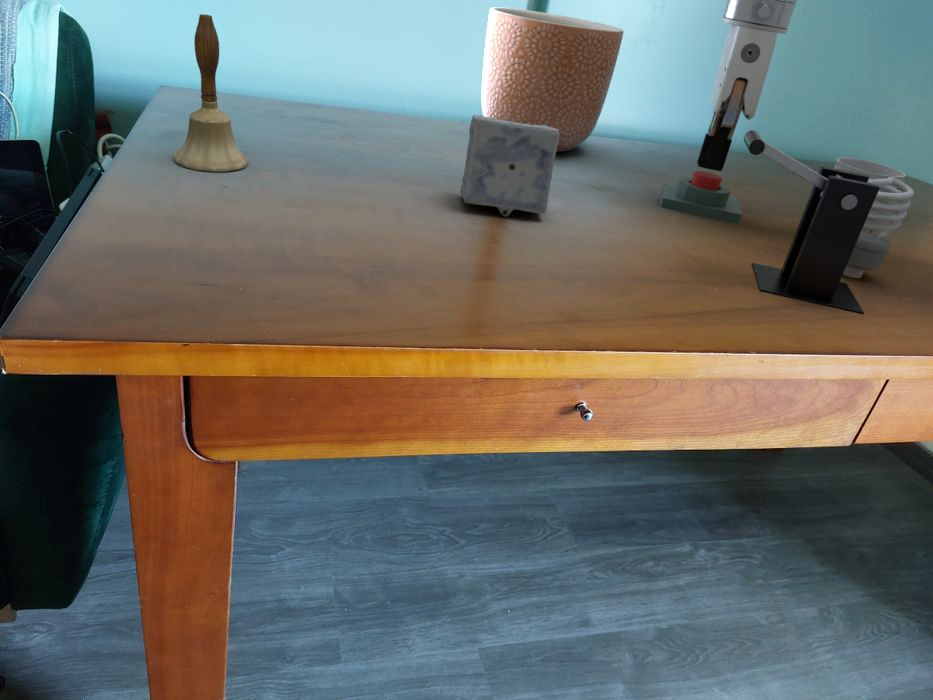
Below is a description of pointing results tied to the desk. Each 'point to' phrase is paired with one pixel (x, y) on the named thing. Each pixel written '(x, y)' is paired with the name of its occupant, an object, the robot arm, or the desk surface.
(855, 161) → the cup
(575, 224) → the desk surface
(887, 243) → the light bulb
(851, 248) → the bracket
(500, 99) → the planter
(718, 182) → the button
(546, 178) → the incense holder
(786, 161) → the lever
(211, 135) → the hand bell
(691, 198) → the button box
